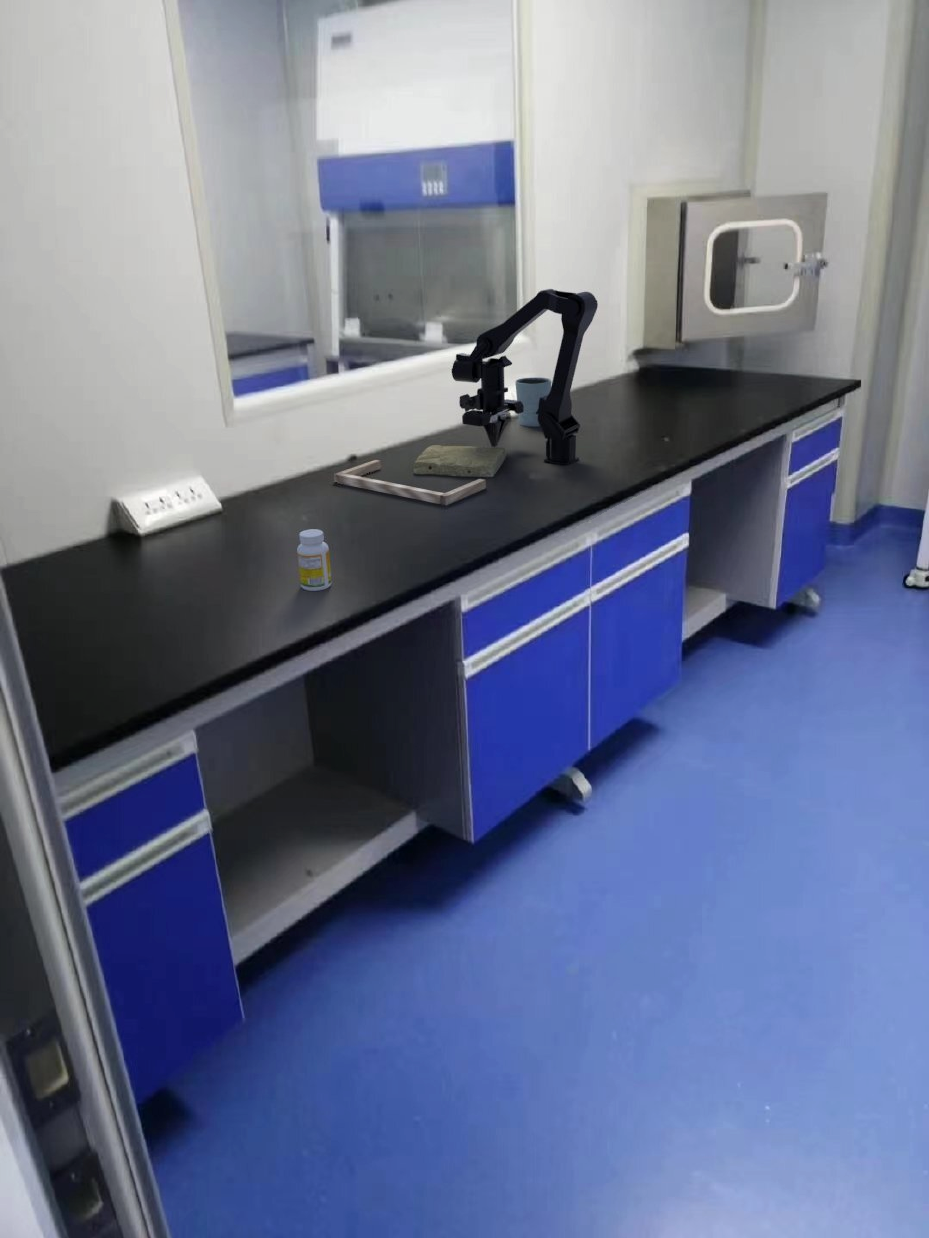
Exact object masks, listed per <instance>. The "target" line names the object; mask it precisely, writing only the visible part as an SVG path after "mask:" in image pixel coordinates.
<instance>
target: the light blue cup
mask: <svg viewBox="0 0 929 1238" xmlns="http://www.w3.org/2000/svg"><path fill="white" fill-rule="evenodd" d="M551 386H552V379H551V378H548V377H523V378H519V379H518V378H517V379H515V394H516V400H517V401H521V402H522V403H523V405H524V412H522V413H519V414H517V416H518V424H519V425H520V426H522V427H529V428H530V427H533V428H536V427H537V428H538V427H541V426H540V424H539V423H538V420H537V418H538V414H536V412H537V410H538V407H539V399H540V398H541V397H543V396H545V395H548V394H549V392H550V390H551Z"/></svg>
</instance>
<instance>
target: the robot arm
mask: <svg viewBox="0 0 929 1238" xmlns="http://www.w3.org/2000/svg"><path fill="white" fill-rule="evenodd" d="M598 305H599V304H598V300H597V299H596V297H595V295H594V294H593V293H592V292H590V291H583V292H577V293H575V292H571V291H570V292H569V291H568V292H567V291H563V290H562V291H561V290H556V289H553V288H548V289H547V288H546V289H543V290H542V289H541V290H540V291H538V293H537V294H536V295H535V296H533V298H531V299H530V300H529V301H528V302H526V304H524V305H522V307H521V308H520V309H518V310H517V311H516V312H515V313H514V314H512V315H511V316H510V317H509V318H507V319H506V320H505V321H503V322H502V323H500V324H499V325H497V326H494V327H492V328H490V329H488V330H486V331H485V332H482V333H481V334H479V335H478V336H477V337H476V340H475V341H476V344H475V346H474V348H473V349H472V352H471V353H470V354H467V353H465V352H464V353H463V352H460V353H456V354H455V360H454V361H453V363H452V368H451V377H452V379H453V380H454V381H455V382H464V383H476V384H477V383H479V382H480V383H481V384H480V386H481V387H480V388H477V391H476V394H475V395H473V396H470V394H469V393H466V394H463V395H460V396H459V401H458V402H459V403H458V404H459V407H460V408H461V409H462V410H463V409H464V411H465V412H464V413H463V414H462V415H461V418H462V419H461V422H462V425H465V426H466V425H468V426H474V427H483V428H484V430H485V431H486V434H487V437H488V440H489V442H490V447H497V446H498V444H499V442H500V440H501V438H502V435H503V433H504V431H505V429H506V427H507V425H508V423H509V421H510V420H511V419H512V417H510V416H507V413H508V412H511V411H512V412H514V413H515V414H517V415H518V414H519V413H522V412H524V405H523V403H522V402H521V401H517V399H508V398H507V399H505V398H506V397H505V396H506V393H508V392H509V387H505V368H507V367H510V366H512V365H513V362H512V361H511V360H510V359H509V358H508V357H507V355H502V354H503V353H506V351H507V349H508V348H509V347H510V346H511V345H512V343H513V341H514V340H515V338H516V337H517V336H518V335H519V334H520V333H521V332H522V331H524V330H525V329H527V327H529V326H530V325H531V324H532V323H533V322H535V321H536V320H537V319H539V318H540V317H541V316H542V315H543V314H545V313H546V312H547V311H550V312H552V313H555V314H558V315H561V317H560V318H561V319H560V321H561V325H562V330H563V333H562V339H561V343H560V346H559V351H558V354H557V360H556V365H555V368H554V374H553V378H552V380H551V390H550V392H549V394H548V395H545V396H543V397H541V398H540V399H539V407H538V410H537V412H536V414H538V418H537V420H538V423H539V424H540V426H539V427H541V430H542V432H543V437H544V439H547V440H545V458H544V459H543V462H545V463H550V464H558V465H563V466H567V465H569V464H571V463H573V462H575V461H577V460H579V459H580V457H579V456H577V455H576V454H577V452H576V451H577V442H576V441H577V435H575V434H577V433H579V430H580V427H581V424H580V422H579V421H578V420H577V419H576V418H575V417H574V416H573V414H572V408H573V405H572V404H573V403H572V399H571V390H572V385H573V381H574V377H575V374H576V369H577V364H578V360H579V356H580V351H581V346H582V343H583V339H584V335H585V333H586V331H587V330H588V328H589V327H590V325H591V324H592V322H593V320H594V317H595V315H596V313H597V309H598ZM499 355H502V356H500V357H497V358H492V357H494V356H499ZM484 359H487V360H484Z"/></svg>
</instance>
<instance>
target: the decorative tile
mask: <svg viewBox="0 0 929 1238" xmlns="http://www.w3.org/2000/svg"><path fill="white" fill-rule="evenodd" d="M506 450H507V449H506V448H505V447H497V446H496V447H492V446H467V445H466V446H462V445H445V446H444V445H439V444H437V445H436V444H434V445H433V444H432V445H430V446H428V447H427V448H425V449H424V450H423V452H421V454H420V455H419V456H418V457H417V458H416V461H414V466H413V473H415V475H440V476H451V477H470V478H471V477H479V478H480V477H481V478H482V477H483V478H484V477H485V478H493V477H494V476H495V474H497V472H498V470H499V469H500V467H501V466H502V464H504V461H505V460H506V458H507V455H506V454H507V451H506Z"/></svg>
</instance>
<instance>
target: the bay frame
mask: <svg viewBox="0 0 929 1238" xmlns="http://www.w3.org/2000/svg"><path fill="white" fill-rule="evenodd" d="M381 464H382V463H381V460H378V459H375V460H371V461H368V462H366V463H362V464H359V465H356V466H354V467H351V468H348V469H344V470H342V471H339V472H336V473H334V474H333V477H334V478H333V479H334V483H335V482H337V483H336V484H340V485H345V486H351V487H355V488H360V489H364V490H365V489H366V490H370V491H374V492H379V493H384V494H389V495H394V496H399V497H404V498H409V499H412V500H413V499H414V500H418V501H424V502H427V503H433V504H438V505H442V506H448V505H450V504H454V503H455V502H458V501H460V500H462V499H464V498H467V497H470V496H472V495H475V494H476V493H478V492H481V491H483V490H485V489H487V488H486V485H487V484H486V483H487V482H486V479H482V478H478V479H476V480H473V481H471V482H468V483H466V484H464V485H461V486H459V487H456V488H455V489H452V490H449V491H446V492H439V491H434V490H429V489H425V488H419V487H414V486H411V485H410V486H409V485H405V484H399V483H395V482H390V481H385V480H384V481H383V480H380V479H373V478H368V477H365V476H364V475H367V473H368V474H370V473H373V472H376V471H379V470H381V469H382V466H381ZM369 472H370V473H369Z"/></svg>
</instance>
